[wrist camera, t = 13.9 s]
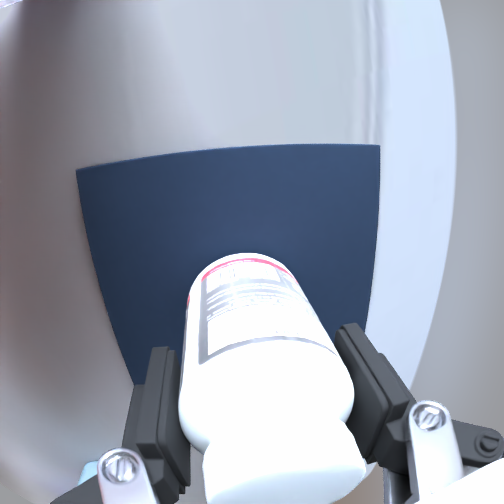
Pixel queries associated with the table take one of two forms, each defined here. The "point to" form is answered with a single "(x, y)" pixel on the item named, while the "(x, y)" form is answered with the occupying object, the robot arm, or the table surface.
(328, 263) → the placemat
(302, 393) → the pill bottle
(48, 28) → the table surface
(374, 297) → the table surface
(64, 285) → the table surface
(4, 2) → the teapot
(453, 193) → the table surface
